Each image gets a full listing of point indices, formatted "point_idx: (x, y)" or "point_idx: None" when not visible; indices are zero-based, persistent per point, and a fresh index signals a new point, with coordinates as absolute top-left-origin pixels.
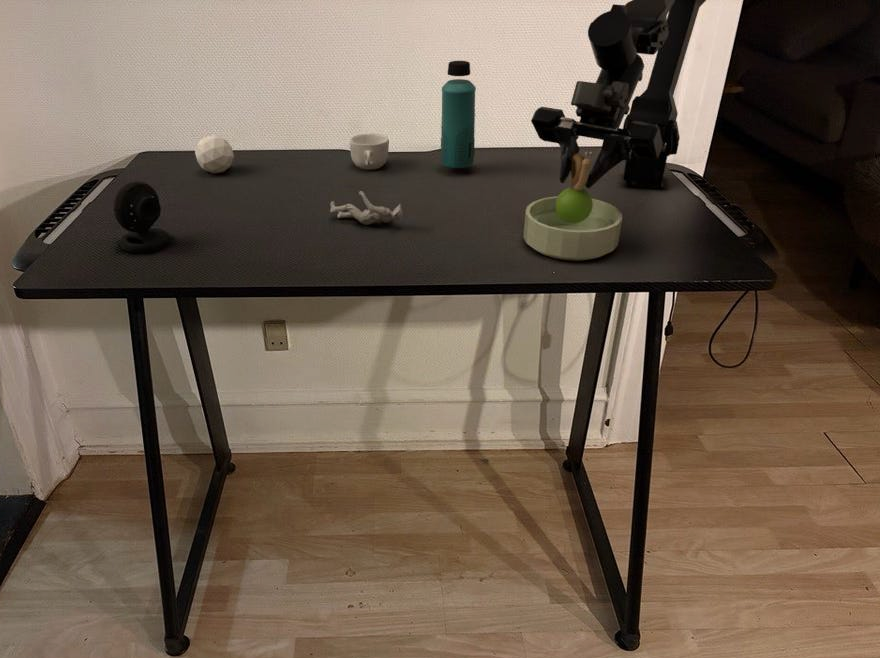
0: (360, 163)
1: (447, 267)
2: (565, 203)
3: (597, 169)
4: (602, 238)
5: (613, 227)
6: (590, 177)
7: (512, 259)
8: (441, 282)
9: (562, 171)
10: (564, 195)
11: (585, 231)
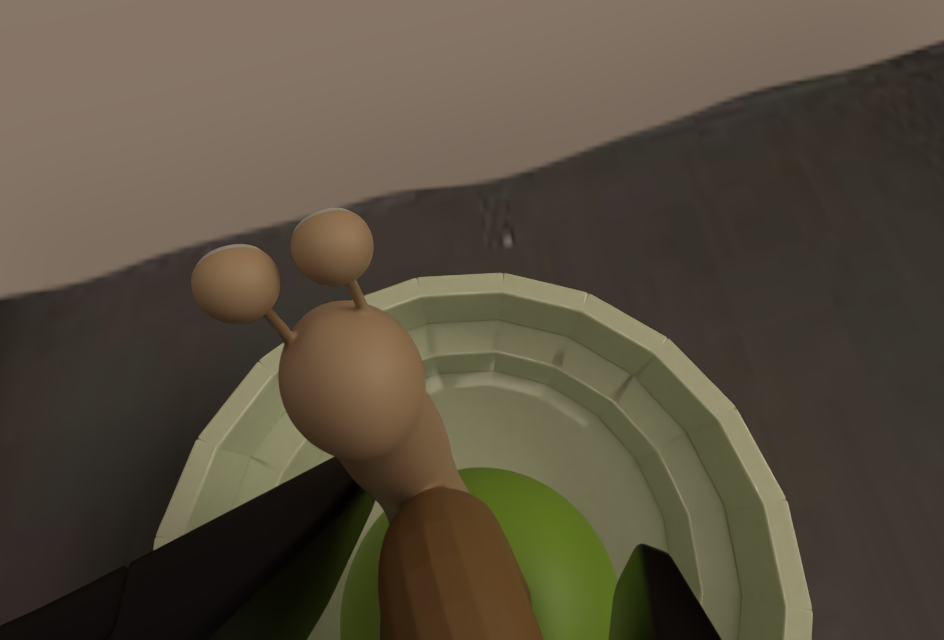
0: None
1: (908, 182)
2: (539, 487)
3: (214, 522)
4: None
5: (224, 407)
6: (325, 478)
7: (694, 311)
8: (869, 79)
9: (680, 615)
10: (567, 544)
11: (384, 292)
